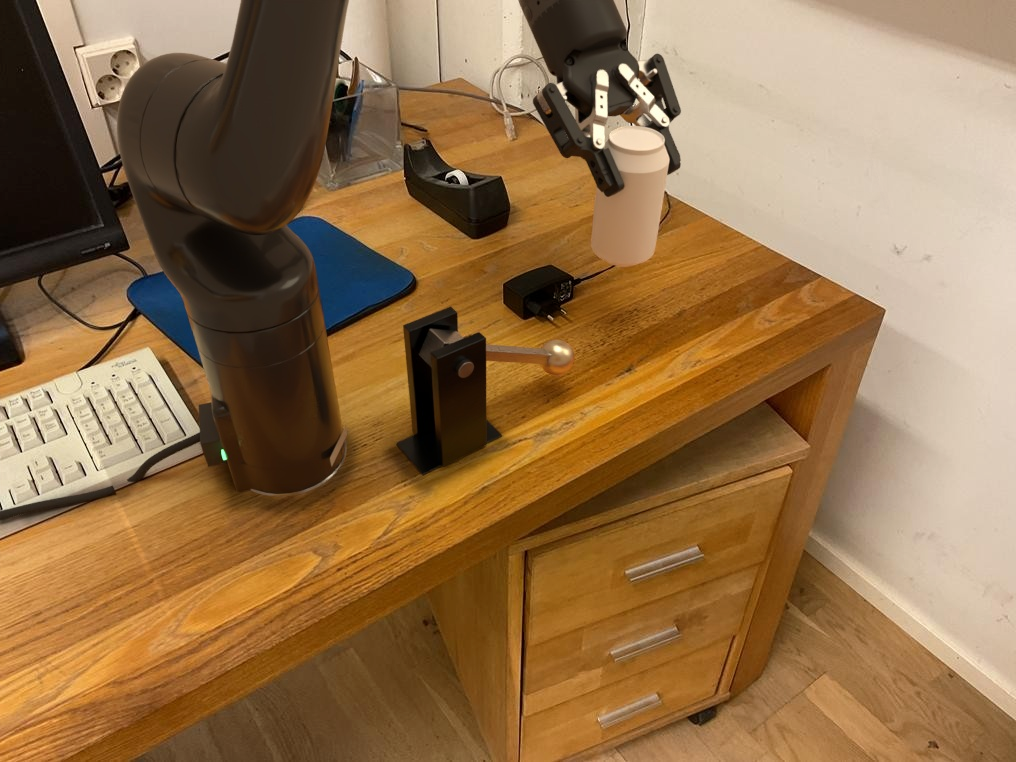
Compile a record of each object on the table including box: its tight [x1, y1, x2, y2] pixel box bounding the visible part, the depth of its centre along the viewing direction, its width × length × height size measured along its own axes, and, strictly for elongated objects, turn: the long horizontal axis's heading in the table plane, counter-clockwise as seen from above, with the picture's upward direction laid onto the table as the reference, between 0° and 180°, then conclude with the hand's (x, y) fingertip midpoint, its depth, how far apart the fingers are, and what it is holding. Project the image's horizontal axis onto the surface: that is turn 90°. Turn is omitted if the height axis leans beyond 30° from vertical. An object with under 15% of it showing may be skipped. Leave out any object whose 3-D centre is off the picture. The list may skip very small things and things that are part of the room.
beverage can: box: [590, 125, 669, 268], centre depth 75 cm, size 6×6×12 cm
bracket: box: [395, 306, 503, 477], centre depth 66 cm, size 8×6×13 cm
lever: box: [419, 329, 575, 376], centre depth 68 cm, size 16×3×3 cm, turn 126°
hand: (644, 181), depth 72 cm, fingers closed on beverage can, 6 cm apart
